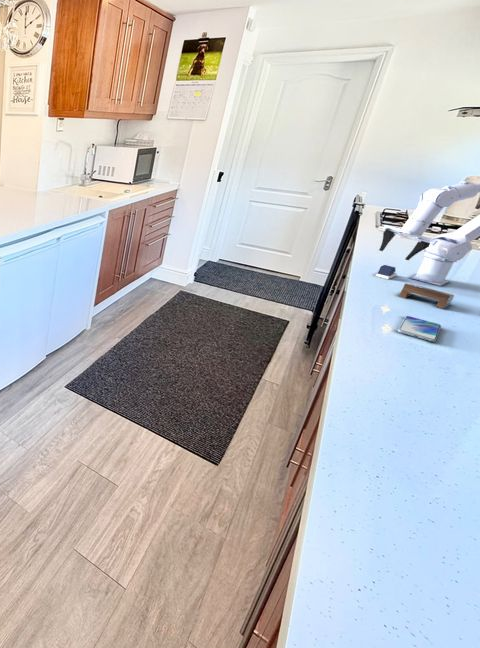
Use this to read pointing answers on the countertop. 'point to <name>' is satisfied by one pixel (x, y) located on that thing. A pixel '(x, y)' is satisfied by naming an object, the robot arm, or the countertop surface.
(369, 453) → the countertop surface
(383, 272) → the trainer
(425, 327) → the smartphone
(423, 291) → the shoe shelf
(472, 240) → the robot arm
